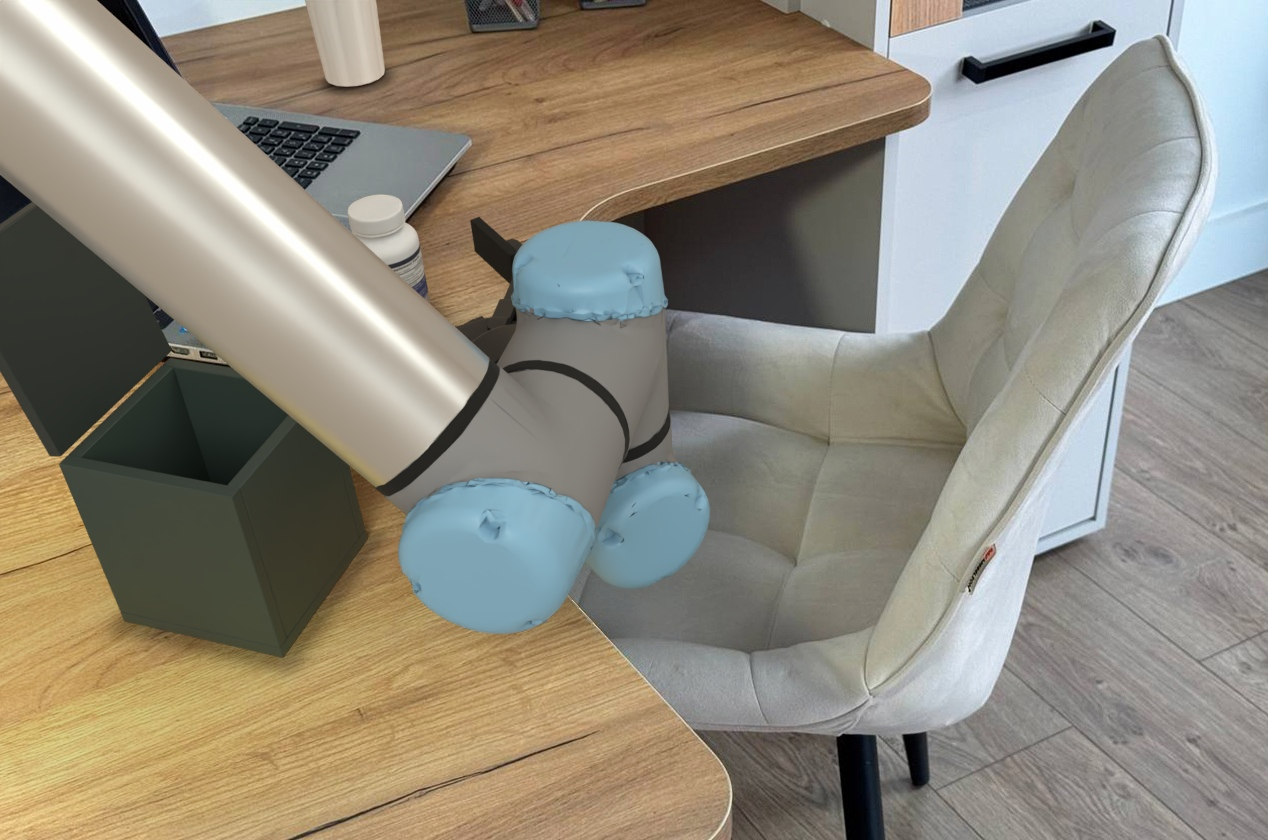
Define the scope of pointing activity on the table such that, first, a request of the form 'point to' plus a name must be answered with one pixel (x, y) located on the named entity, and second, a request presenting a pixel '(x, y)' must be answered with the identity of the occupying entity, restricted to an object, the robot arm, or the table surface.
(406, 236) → the pill bottle
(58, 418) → the trash lid
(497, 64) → the table surface
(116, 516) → the trash bin
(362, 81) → the cup
